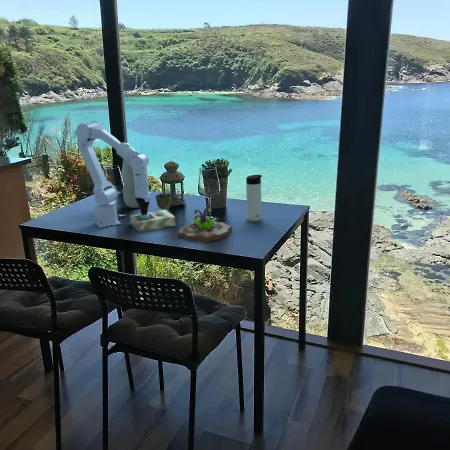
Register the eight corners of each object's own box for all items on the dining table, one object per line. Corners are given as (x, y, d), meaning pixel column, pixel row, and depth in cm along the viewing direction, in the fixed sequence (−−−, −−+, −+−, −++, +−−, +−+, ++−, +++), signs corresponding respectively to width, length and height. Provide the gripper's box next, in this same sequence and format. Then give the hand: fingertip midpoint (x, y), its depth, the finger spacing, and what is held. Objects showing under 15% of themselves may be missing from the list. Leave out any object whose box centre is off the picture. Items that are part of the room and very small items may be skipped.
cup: (174, 208, 229) (172, 192, 227) (170, 213, 223) (169, 196, 220) (158, 209, 230) (157, 192, 228) (155, 213, 223) (153, 197, 221)
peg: (141, 224, 204) (141, 216, 203) (139, 222, 207) (138, 213, 206) (150, 223, 205) (150, 214, 204) (148, 220, 209) (147, 212, 208)
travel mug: (261, 222, 206) (260, 176, 199) (245, 222, 207) (244, 176, 201) (263, 218, 212) (262, 173, 205) (248, 217, 213) (247, 173, 206)
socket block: (139, 232, 200) (138, 222, 198) (131, 224, 210) (130, 214, 209) (175, 225, 206) (174, 216, 205) (165, 217, 217) (165, 209, 215)
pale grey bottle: (121, 209, 231) (114, 151, 222) (131, 203, 240) (125, 147, 231) (140, 211, 228) (134, 152, 219) (149, 204, 237) (144, 148, 228)
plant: (211, 245, 184) (210, 217, 180) (171, 237, 194) (169, 210, 190) (238, 230, 199) (238, 204, 196) (200, 223, 210) (199, 198, 206)
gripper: (156, 185, 196) (158, 217, 200) (145, 178, 208) (148, 208, 213) (139, 187, 193) (142, 220, 198) (129, 180, 206) (132, 211, 210)
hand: (144, 214), depth 205 cm, fingers closed, pressing on peg
